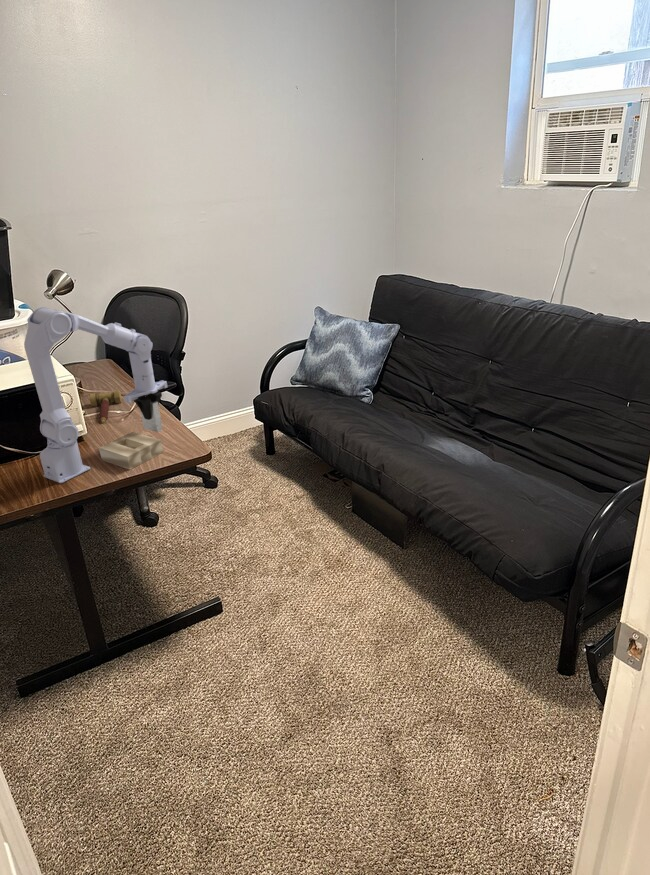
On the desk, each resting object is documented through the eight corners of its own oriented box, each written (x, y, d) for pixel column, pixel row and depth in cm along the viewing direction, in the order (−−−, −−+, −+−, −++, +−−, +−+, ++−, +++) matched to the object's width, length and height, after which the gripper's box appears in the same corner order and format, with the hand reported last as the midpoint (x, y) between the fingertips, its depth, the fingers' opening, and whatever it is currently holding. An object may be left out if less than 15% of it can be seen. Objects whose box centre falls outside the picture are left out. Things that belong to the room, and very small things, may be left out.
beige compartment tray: (130, 469, 166) (127, 456, 164) (101, 460, 172) (98, 447, 170) (163, 452, 175) (160, 439, 173) (135, 443, 181) (132, 431, 179)
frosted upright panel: (157, 432, 181) (152, 404, 177) (143, 428, 184) (138, 400, 180) (162, 429, 182) (157, 401, 178) (148, 425, 185) (143, 398, 181)
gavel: (117, 413, 196) (85, 417, 194) (120, 425, 198) (88, 430, 196) (119, 388, 214) (89, 391, 212) (122, 399, 216) (92, 403, 214)
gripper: (132, 383, 168) (141, 428, 174) (171, 368, 179) (178, 411, 185) (115, 380, 172) (124, 424, 177) (155, 365, 183) (162, 407, 188)
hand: (151, 417), depth 181 cm, fingers closed on frosted upright panel, 2 cm apart
